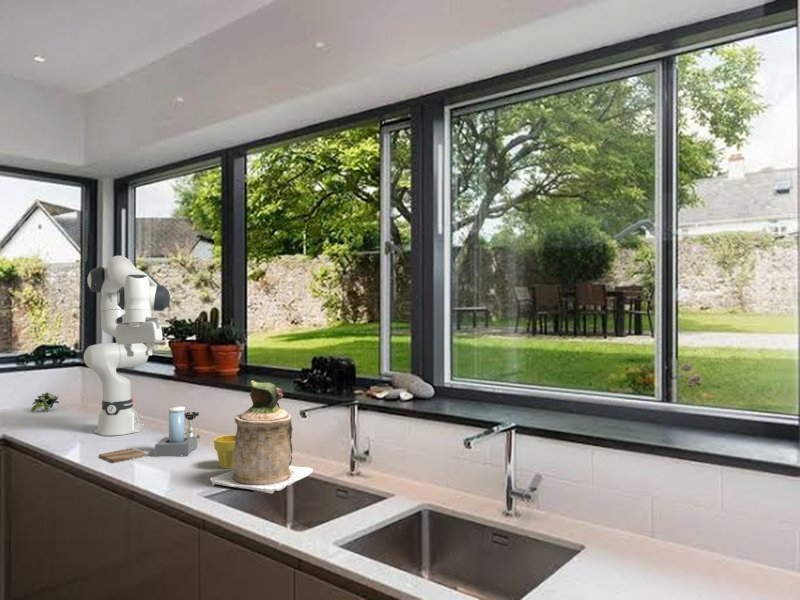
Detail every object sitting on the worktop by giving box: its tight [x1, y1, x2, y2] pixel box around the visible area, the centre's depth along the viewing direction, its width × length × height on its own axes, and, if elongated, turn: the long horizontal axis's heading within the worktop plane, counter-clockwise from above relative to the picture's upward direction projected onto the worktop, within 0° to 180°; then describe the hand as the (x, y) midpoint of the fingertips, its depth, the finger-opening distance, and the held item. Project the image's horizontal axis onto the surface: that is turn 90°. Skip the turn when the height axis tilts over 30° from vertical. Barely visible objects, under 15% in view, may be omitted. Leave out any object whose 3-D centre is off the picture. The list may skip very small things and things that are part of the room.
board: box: [98, 447, 147, 464], centre depth 221 cm, size 12×12×1 cm
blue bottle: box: [168, 405, 186, 443], centre depth 227 cm, size 6×6×17 cm
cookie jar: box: [210, 380, 314, 495], centre depth 194 cm, size 25×25×32 cm
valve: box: [184, 411, 201, 444], centre depth 242 cm, size 7×7×12 cm
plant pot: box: [213, 434, 236, 469], centre depth 209 cm, size 10×10×10 cm
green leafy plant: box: [30, 391, 60, 413], centre depth 310 cm, size 11×11×12 cm
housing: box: [154, 436, 198, 457], centre depth 227 cm, size 12×12×4 cm
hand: (139, 356), depth 218 cm, fingers open, 8 cm apart
